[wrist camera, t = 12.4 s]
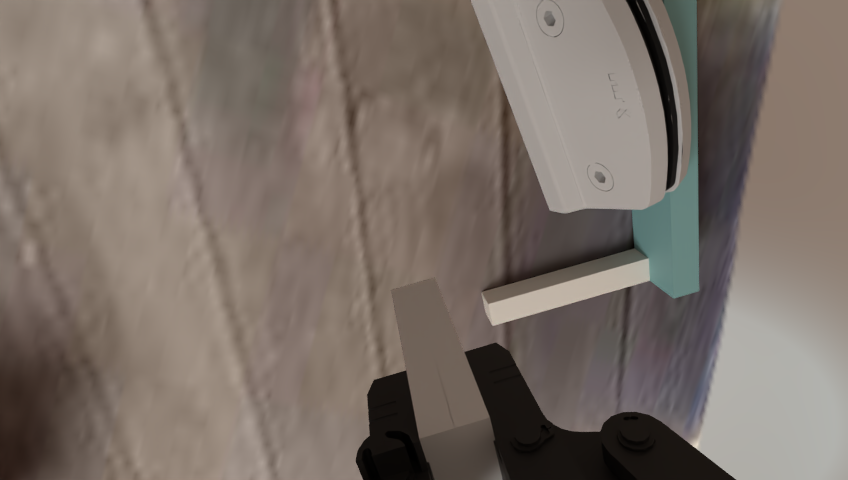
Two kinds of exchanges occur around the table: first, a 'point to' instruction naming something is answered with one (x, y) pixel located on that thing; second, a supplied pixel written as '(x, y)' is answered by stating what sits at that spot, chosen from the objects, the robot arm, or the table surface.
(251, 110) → the table surface
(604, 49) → the grey half-round casing
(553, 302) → the guide bay
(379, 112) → the table surface
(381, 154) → the table surface
